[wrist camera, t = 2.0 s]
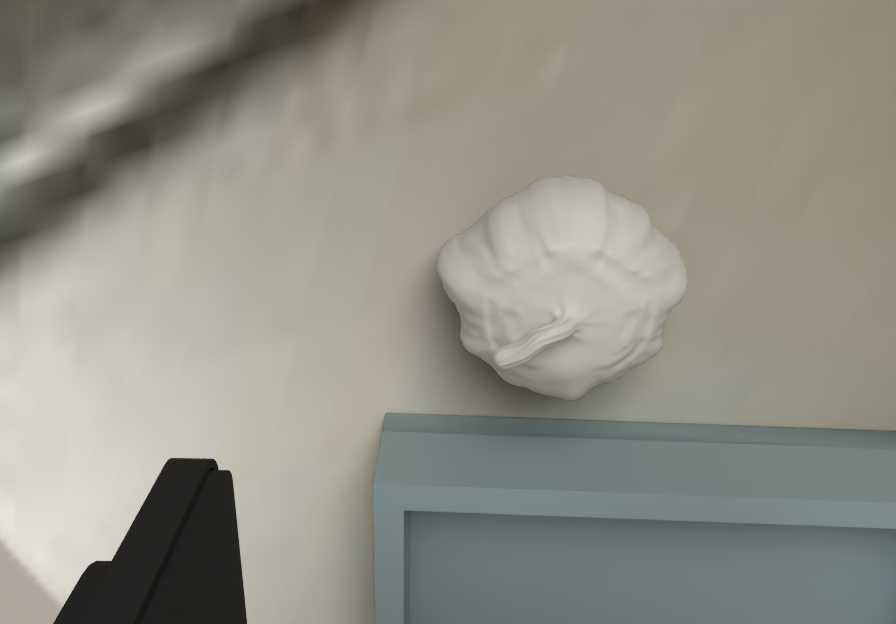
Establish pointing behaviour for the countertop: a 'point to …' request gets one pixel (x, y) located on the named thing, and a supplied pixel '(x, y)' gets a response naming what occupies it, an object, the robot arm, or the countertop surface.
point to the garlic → (563, 286)
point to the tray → (631, 523)
